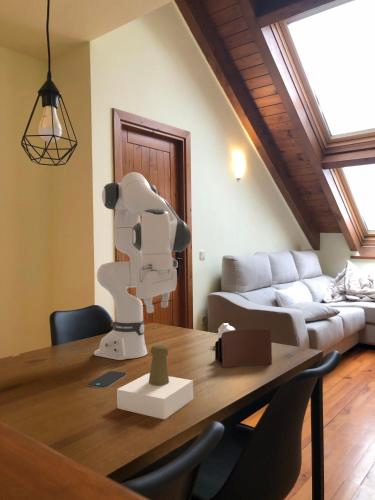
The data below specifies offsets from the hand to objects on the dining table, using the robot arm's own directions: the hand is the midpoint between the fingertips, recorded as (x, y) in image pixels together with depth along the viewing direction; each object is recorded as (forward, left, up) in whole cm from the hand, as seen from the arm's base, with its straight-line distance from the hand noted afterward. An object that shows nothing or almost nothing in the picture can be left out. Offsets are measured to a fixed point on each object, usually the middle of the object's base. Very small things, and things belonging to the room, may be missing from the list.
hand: (157, 309), depth 123 cm
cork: (0, -1, -22) cm, 22 cm away
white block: (0, -3, -28) cm, 28 cm away
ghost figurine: (0, +67, -27) cm, 72 cm away
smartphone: (-25, +10, -28) cm, 38 cm away
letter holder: (+13, +45, -27) cm, 54 cm away
